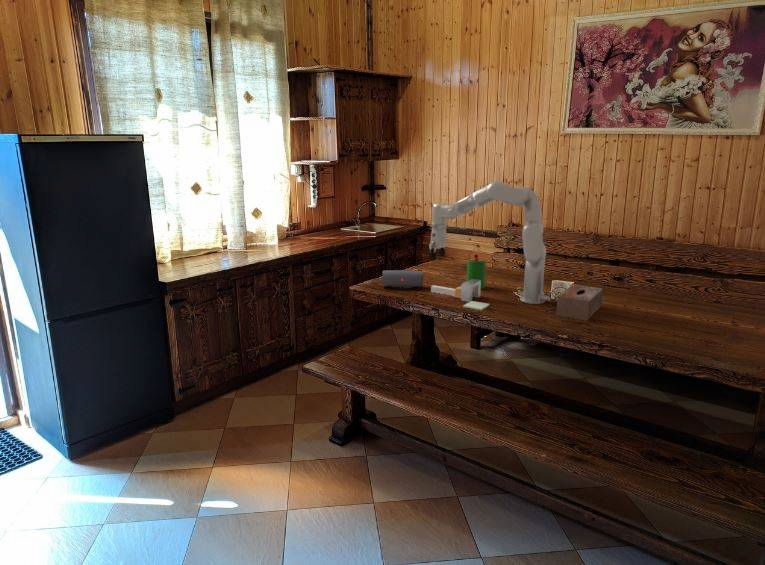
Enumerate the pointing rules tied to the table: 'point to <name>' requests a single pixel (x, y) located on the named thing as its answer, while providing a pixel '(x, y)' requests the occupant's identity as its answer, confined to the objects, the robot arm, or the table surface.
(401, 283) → the bluetooth speaker
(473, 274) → the motor
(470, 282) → the housing
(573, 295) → the tissue box cover
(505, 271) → the table surface
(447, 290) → the push rod
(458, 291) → the plug block
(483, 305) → the mat
